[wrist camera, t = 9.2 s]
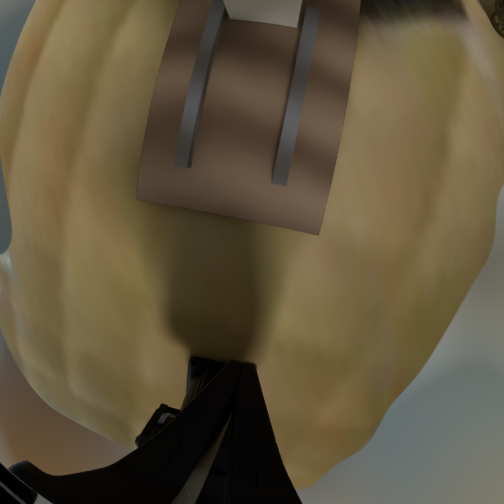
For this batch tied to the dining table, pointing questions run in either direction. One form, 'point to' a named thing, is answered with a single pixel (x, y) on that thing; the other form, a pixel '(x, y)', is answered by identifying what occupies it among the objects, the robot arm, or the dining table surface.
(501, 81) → the dining table surface
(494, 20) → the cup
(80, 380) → the dining table surface
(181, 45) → the brown board with frame
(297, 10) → the white block with knob
